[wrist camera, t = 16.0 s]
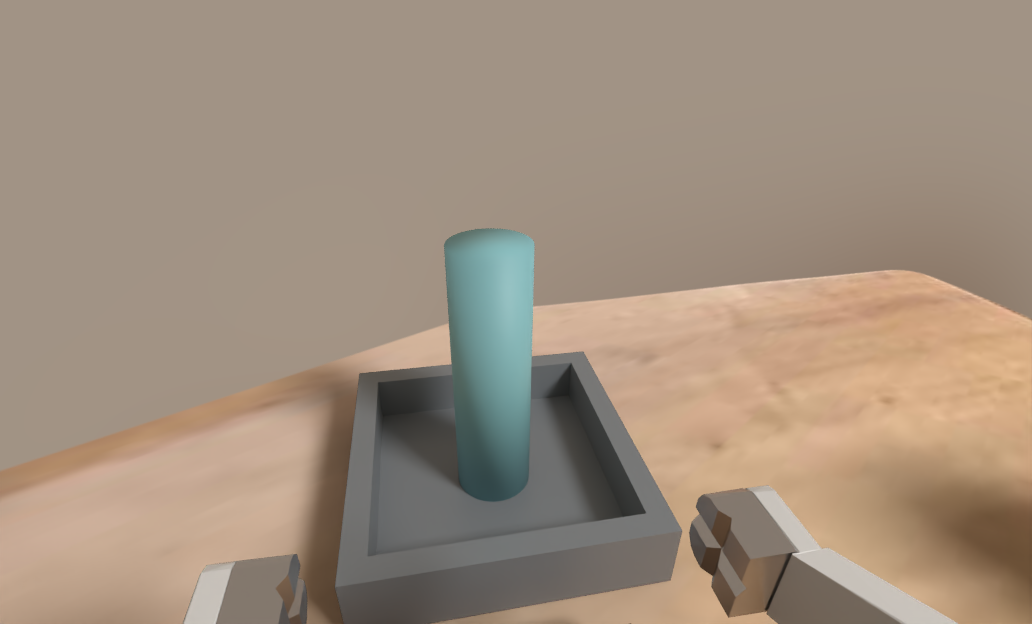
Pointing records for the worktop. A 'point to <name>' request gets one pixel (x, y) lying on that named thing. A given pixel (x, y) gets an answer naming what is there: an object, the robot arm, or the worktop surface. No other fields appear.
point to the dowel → (491, 358)
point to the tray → (494, 504)
